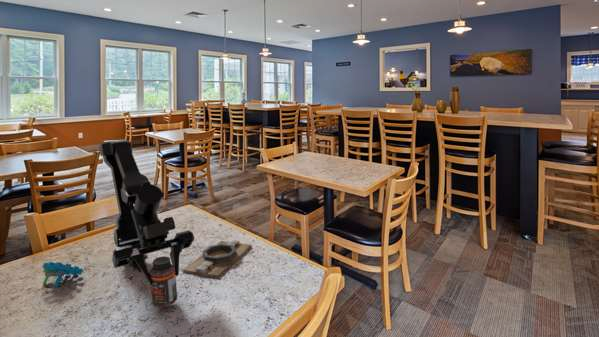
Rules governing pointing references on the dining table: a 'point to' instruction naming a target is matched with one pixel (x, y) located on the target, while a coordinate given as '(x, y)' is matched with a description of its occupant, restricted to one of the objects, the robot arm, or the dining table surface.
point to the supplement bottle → (163, 282)
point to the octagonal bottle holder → (217, 259)
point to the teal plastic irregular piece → (59, 271)
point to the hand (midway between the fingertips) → (164, 279)
